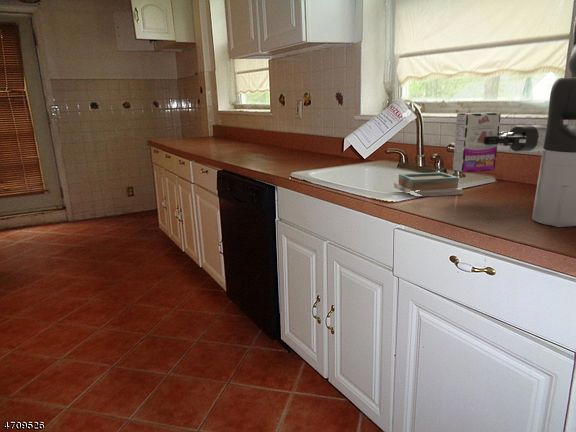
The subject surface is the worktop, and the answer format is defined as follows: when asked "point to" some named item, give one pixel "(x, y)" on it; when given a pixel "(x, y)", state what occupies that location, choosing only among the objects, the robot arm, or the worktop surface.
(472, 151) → the candy bar box
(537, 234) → the worktop surface
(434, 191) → the foundation
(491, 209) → the worktop surface
